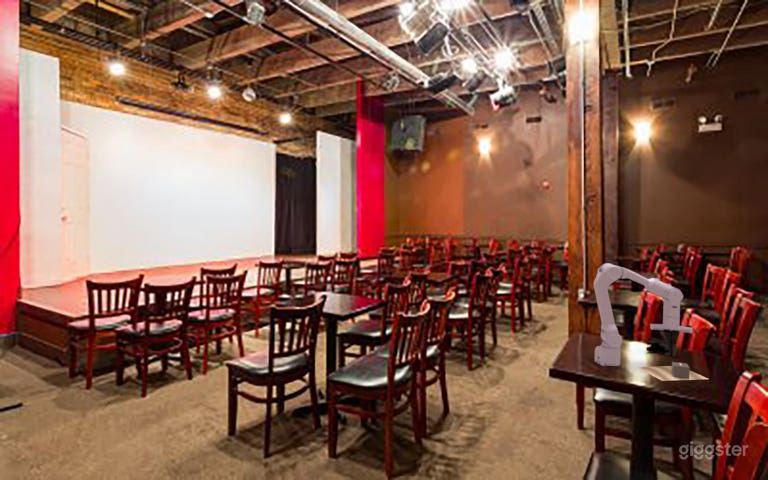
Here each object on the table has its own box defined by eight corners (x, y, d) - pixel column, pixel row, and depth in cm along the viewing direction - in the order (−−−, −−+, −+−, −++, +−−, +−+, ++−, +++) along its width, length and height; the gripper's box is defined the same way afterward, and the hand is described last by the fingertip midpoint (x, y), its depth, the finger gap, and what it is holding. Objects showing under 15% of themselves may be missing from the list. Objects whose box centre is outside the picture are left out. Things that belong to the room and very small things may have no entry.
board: (662, 384, 165) (662, 380, 165) (636, 370, 180) (636, 367, 180) (708, 382, 166) (708, 379, 166) (679, 369, 181) (679, 365, 181)
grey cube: (689, 379, 166) (689, 367, 166) (673, 377, 169) (674, 365, 168) (686, 374, 171) (686, 363, 171) (671, 372, 173) (671, 361, 173)
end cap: (676, 357, 197) (677, 343, 196) (666, 359, 194) (667, 345, 193) (655, 351, 206) (656, 337, 205) (645, 353, 203) (645, 339, 203)
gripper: (690, 315, 180) (689, 347, 180) (649, 312, 186) (649, 343, 187) (694, 319, 173) (692, 352, 174) (651, 315, 180) (650, 347, 180)
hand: (670, 348), depth 180 cm, fingers closed
